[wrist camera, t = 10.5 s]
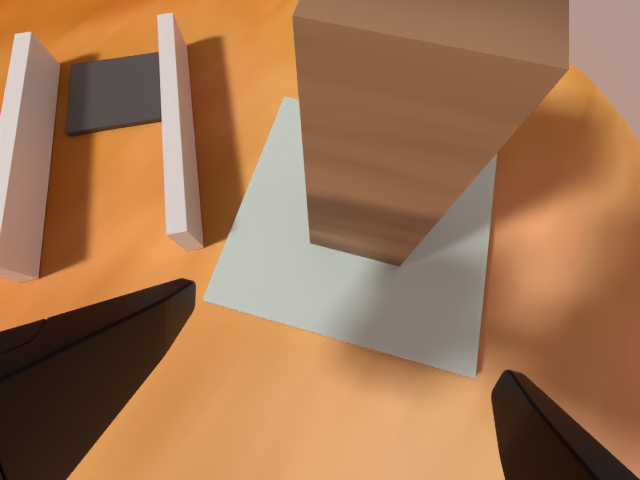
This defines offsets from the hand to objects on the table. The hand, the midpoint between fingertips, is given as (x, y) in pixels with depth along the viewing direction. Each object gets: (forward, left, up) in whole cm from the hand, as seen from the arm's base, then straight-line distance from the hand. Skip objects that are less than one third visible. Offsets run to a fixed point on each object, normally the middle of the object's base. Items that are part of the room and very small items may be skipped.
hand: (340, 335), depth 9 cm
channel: (+8, +16, -8) cm, 20 cm away
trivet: (+7, 0, -8) cm, 11 cm away
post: (+7, 0, -7) cm, 10 cm away
